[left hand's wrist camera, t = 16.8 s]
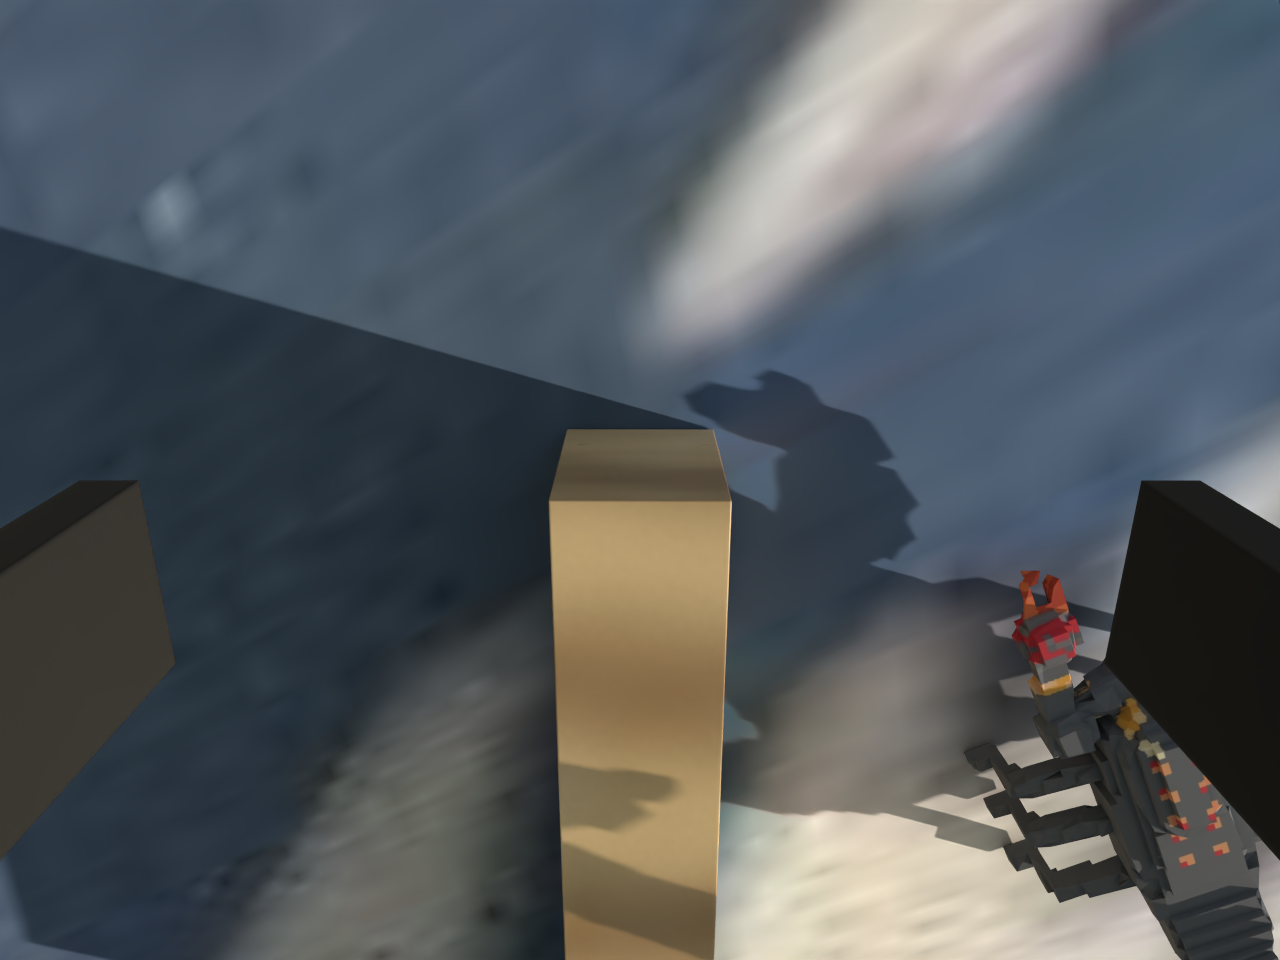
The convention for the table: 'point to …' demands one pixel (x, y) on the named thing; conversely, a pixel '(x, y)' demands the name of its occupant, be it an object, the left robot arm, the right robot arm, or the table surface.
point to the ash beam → (639, 688)
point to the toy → (1127, 801)
